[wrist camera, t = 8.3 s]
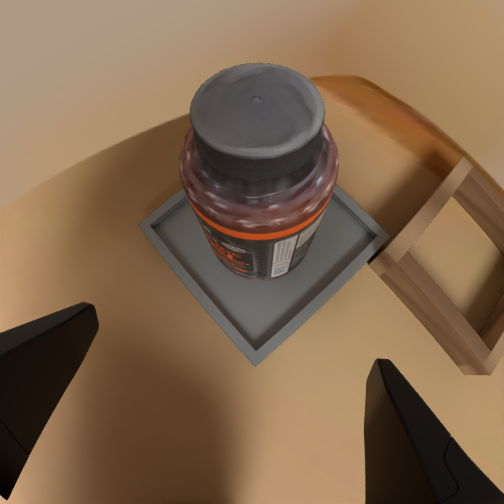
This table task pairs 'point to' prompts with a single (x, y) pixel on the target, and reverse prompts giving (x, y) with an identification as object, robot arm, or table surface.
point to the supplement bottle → (258, 167)
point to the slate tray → (264, 292)
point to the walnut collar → (428, 292)
